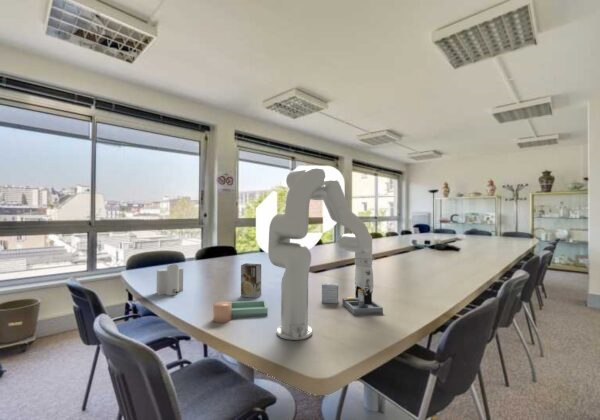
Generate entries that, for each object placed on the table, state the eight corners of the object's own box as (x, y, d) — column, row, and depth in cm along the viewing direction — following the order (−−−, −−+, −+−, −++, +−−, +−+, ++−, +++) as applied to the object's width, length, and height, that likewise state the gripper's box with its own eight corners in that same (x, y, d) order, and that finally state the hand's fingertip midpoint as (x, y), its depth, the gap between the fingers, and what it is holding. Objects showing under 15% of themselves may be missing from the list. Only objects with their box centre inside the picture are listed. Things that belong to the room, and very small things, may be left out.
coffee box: (261, 294, 151) (262, 263, 151) (256, 298, 145) (256, 266, 145) (246, 293, 153) (246, 263, 154) (240, 296, 147) (240, 264, 147)
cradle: (382, 313, 123) (382, 305, 123) (353, 315, 121) (353, 307, 121) (368, 303, 138) (368, 296, 138) (342, 304, 135) (342, 297, 135)
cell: (370, 309, 126) (370, 289, 126) (360, 309, 125) (360, 290, 125) (365, 306, 130) (365, 287, 130) (356, 306, 129) (356, 287, 129)
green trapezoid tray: (267, 315, 120) (267, 308, 120) (227, 317, 117) (227, 310, 117) (265, 307, 131) (265, 300, 131) (229, 308, 128) (229, 302, 128)
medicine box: (338, 301, 141) (338, 283, 141) (338, 303, 137) (338, 285, 137) (321, 300, 142) (321, 282, 142) (321, 303, 137) (321, 284, 138)
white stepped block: (180, 289, 161) (180, 262, 161) (188, 294, 150) (189, 265, 150) (156, 292, 153) (156, 264, 153) (163, 299, 142) (164, 268, 142)
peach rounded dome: (231, 322, 112) (231, 306, 113) (212, 323, 111) (212, 307, 111) (231, 315, 119) (231, 301, 119) (214, 316, 118) (214, 302, 118)
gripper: (380, 265, 120) (380, 306, 120) (363, 258, 137) (363, 295, 137) (363, 265, 119) (363, 307, 118) (348, 259, 136) (348, 295, 135)
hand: (363, 300), depth 128 cm, fingers open, 9 cm apart
